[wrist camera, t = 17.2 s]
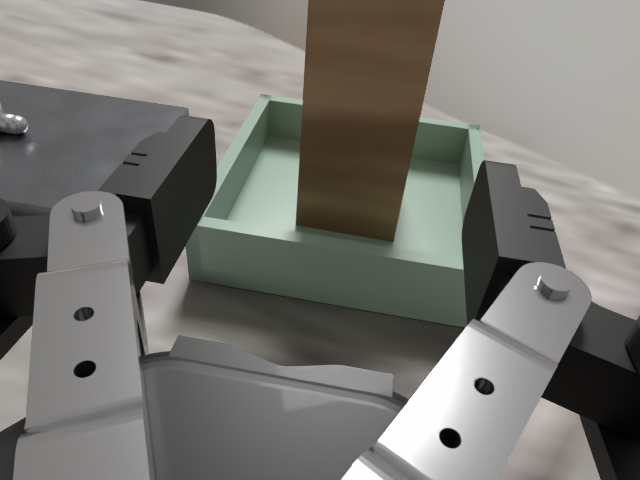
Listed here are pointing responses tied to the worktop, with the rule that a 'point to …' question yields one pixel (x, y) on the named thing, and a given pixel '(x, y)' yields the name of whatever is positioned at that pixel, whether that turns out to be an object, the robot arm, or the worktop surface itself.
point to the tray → (332, 247)
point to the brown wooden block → (362, 110)
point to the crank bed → (67, 141)
